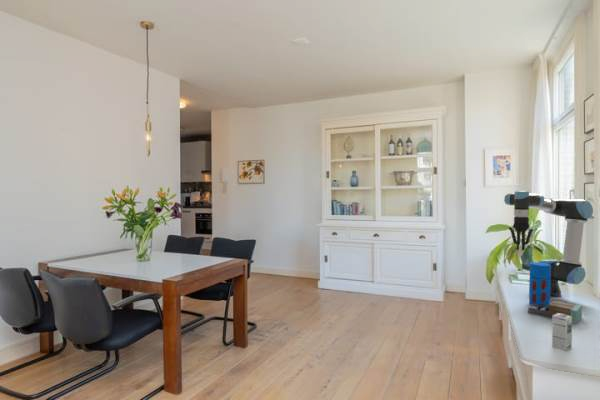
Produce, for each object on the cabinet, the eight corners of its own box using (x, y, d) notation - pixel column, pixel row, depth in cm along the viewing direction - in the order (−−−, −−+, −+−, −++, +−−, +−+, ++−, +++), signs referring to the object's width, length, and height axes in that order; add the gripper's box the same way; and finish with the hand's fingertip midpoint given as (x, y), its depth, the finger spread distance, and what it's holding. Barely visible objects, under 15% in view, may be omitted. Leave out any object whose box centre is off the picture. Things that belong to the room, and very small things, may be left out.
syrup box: (566, 351, 160) (567, 318, 160) (551, 346, 165) (552, 314, 164) (571, 348, 164) (572, 315, 163) (556, 343, 168) (557, 312, 168)
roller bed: (533, 308, 217) (533, 303, 217) (575, 317, 203) (575, 311, 203) (528, 312, 210) (528, 307, 210) (570, 322, 195) (570, 316, 195)
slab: (554, 307, 210) (554, 300, 210) (575, 311, 203) (575, 304, 203) (548, 312, 202) (548, 304, 202) (570, 316, 195) (570, 309, 195)
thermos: (553, 307, 219) (554, 266, 218) (533, 306, 221) (534, 265, 220) (544, 302, 229) (546, 262, 229) (526, 301, 232) (527, 262, 231)
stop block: (575, 317, 203) (575, 304, 203) (581, 318, 202) (581, 305, 201) (570, 322, 195) (570, 309, 194) (576, 324, 193) (576, 310, 192)
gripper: (507, 216, 222) (506, 254, 223) (532, 217, 213) (531, 257, 214) (511, 215, 227) (510, 253, 228) (535, 216, 218) (534, 256, 219)
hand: (520, 255), depth 221 cm, fingers closed
